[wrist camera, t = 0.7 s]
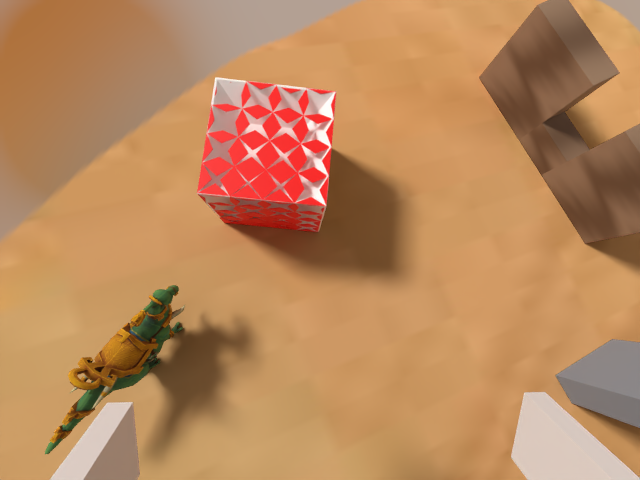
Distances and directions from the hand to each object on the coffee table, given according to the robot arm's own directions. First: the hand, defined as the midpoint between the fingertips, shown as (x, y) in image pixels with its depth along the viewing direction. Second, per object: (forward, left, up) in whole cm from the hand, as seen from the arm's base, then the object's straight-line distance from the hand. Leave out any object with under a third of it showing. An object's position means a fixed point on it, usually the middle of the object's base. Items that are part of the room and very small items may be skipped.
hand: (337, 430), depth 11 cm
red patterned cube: (+14, -4, -16) cm, 22 cm away
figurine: (+6, +11, -16) cm, 20 cm away
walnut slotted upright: (+6, -27, -16) cm, 32 cm away
